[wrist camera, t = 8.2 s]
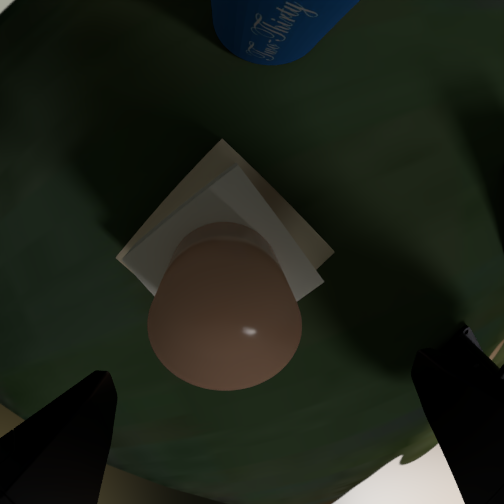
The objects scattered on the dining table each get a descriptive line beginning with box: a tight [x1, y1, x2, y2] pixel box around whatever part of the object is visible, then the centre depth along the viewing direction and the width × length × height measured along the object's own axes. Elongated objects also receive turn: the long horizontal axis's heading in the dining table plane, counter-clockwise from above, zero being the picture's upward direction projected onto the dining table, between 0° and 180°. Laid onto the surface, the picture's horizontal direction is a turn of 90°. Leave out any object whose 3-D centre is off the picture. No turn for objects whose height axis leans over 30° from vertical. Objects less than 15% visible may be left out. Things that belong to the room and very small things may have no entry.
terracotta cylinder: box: [148, 222, 302, 391], centre depth 13 cm, size 5×5×5 cm
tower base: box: [116, 139, 335, 274], centre depth 20 cm, size 9×9×3 cm
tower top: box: [122, 163, 324, 302], centre depth 17 cm, size 7×7×3 cm
